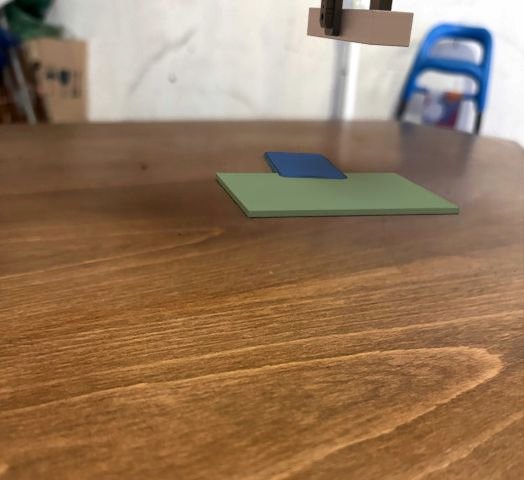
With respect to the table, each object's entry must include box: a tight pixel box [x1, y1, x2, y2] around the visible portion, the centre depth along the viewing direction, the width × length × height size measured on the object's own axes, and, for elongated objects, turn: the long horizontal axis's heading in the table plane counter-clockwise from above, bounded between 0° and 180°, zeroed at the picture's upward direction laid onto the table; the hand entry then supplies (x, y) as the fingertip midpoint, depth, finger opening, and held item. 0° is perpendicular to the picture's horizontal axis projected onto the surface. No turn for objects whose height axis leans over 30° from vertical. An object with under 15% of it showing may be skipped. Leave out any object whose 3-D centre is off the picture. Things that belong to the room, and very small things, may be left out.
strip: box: [306, 7, 415, 48], centre depth 60 cm, size 16×4×2 cm, turn 15°
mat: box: [215, 172, 460, 218], centre depth 65 cm, size 20×14×1 cm
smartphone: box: [263, 151, 348, 179], centre depth 75 cm, size 7×1×15 cm
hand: (353, 36), depth 60 cm, fingers closed on strip, 3 cm apart
